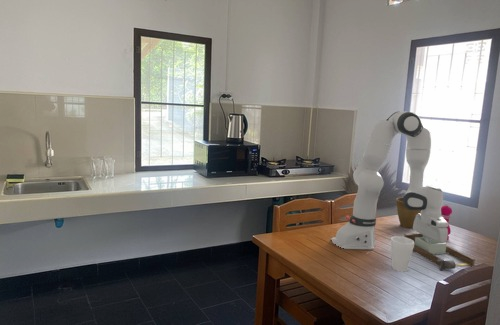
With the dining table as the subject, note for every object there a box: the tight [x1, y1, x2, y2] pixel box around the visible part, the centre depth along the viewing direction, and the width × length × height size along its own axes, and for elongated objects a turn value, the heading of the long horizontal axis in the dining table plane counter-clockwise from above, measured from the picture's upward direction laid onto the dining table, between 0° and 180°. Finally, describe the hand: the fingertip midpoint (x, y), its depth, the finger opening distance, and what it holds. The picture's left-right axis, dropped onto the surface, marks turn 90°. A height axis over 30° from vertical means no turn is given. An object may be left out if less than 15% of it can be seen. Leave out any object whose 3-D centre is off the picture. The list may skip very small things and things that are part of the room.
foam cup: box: [390, 236, 415, 273], centre depth 163 cm, size 10×9×13 cm
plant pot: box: [396, 197, 422, 229], centre depth 225 cm, size 15×15×16 cm
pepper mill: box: [441, 202, 453, 241], centre depth 205 cm, size 7×7×20 cm
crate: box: [415, 237, 448, 255], centre depth 186 cm, size 10×10×5 cm
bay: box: [403, 233, 476, 271], centre depth 179 cm, size 22×31×6 cm
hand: (427, 245), depth 188 cm, fingers closed
